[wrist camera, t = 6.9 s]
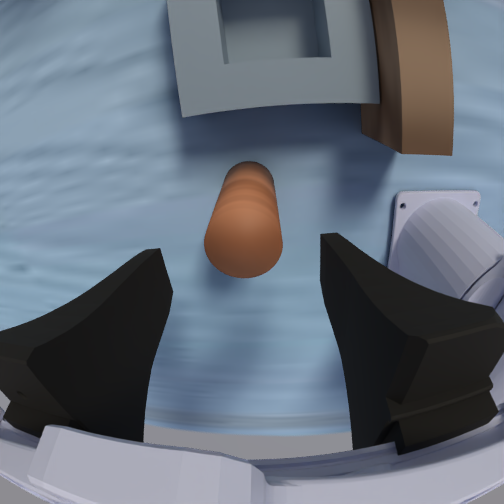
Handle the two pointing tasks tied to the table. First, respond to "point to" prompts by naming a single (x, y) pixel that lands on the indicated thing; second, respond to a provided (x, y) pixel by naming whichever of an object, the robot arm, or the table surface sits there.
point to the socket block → (272, 53)
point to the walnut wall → (412, 78)
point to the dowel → (245, 223)
